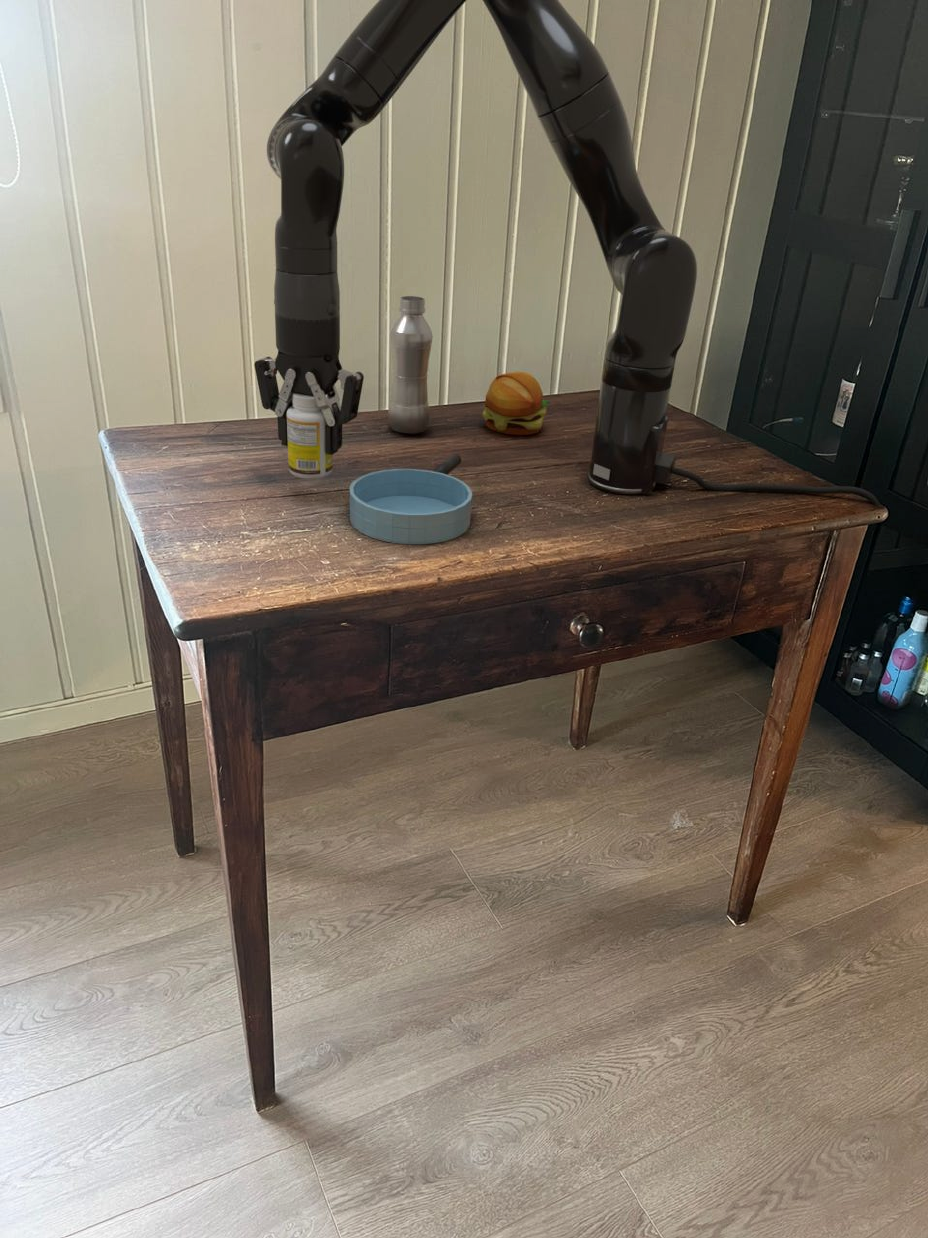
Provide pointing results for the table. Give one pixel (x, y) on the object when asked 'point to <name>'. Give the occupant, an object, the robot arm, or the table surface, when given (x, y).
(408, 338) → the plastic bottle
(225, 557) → the table surface
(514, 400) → the cheeseburger
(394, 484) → the pan
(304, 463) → the supplement bottle
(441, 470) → the pan handle
